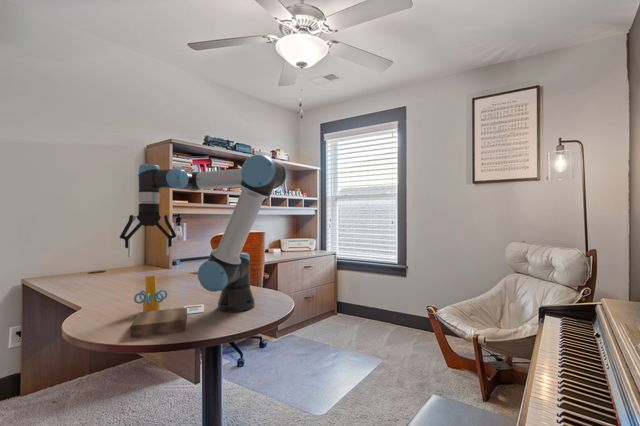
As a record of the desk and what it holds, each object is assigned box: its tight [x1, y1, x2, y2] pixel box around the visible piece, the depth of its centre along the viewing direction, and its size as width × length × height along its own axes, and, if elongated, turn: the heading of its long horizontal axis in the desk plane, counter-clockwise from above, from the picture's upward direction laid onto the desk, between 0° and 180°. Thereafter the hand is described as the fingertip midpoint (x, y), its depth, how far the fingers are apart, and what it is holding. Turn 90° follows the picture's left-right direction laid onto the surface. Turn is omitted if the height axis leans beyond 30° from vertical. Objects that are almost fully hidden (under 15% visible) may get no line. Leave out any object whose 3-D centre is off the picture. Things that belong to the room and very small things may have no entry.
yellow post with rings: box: [133, 274, 168, 312], centre depth 134 cm, size 12×10×15 cm
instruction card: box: [183, 303, 205, 315], centre depth 138 cm, size 8×12×1 cm, turn 19°
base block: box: [130, 307, 188, 339], centre depth 116 cm, size 16×16×4 cm
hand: (148, 255), depth 134 cm, fingers open, 13 cm apart
